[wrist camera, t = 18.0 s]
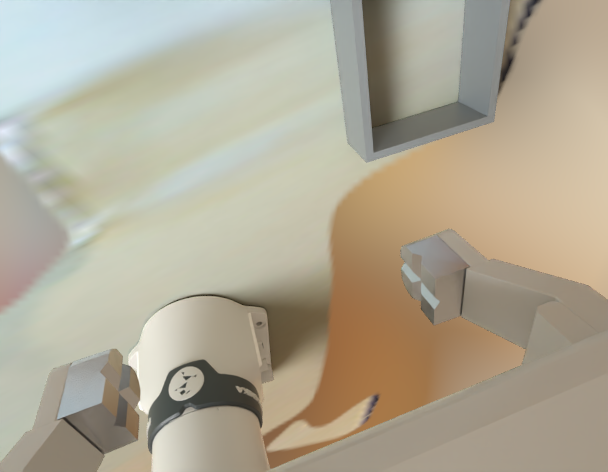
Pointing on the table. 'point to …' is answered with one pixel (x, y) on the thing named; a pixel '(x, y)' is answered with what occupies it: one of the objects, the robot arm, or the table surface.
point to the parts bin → (435, 123)
